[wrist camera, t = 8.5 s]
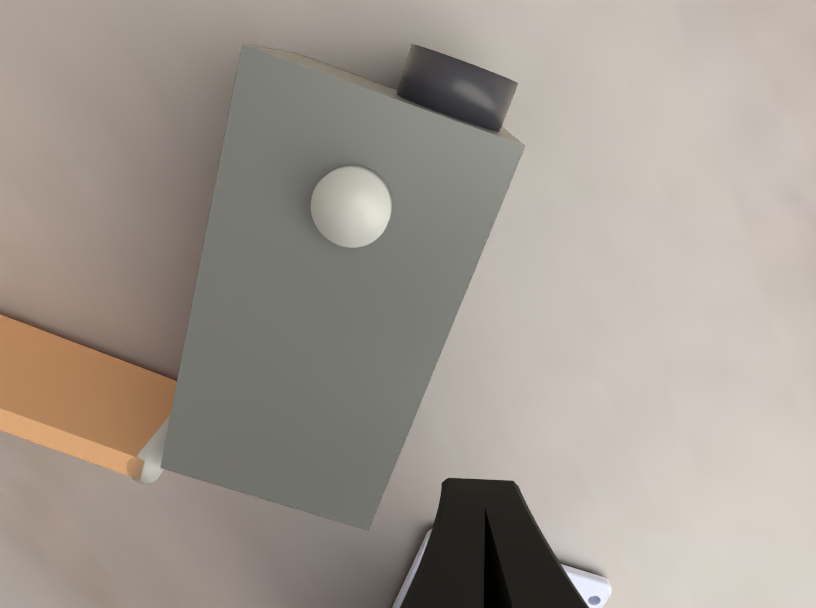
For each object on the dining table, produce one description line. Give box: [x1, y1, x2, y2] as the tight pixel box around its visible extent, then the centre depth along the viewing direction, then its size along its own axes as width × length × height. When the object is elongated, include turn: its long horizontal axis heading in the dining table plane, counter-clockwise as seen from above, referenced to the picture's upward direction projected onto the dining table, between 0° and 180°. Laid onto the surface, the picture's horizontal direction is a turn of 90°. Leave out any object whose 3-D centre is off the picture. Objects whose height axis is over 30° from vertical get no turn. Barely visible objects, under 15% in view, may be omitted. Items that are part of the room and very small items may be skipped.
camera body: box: [160, 44, 525, 530], centre depth 16 cm, size 13×6×5 cm, turn 161°
